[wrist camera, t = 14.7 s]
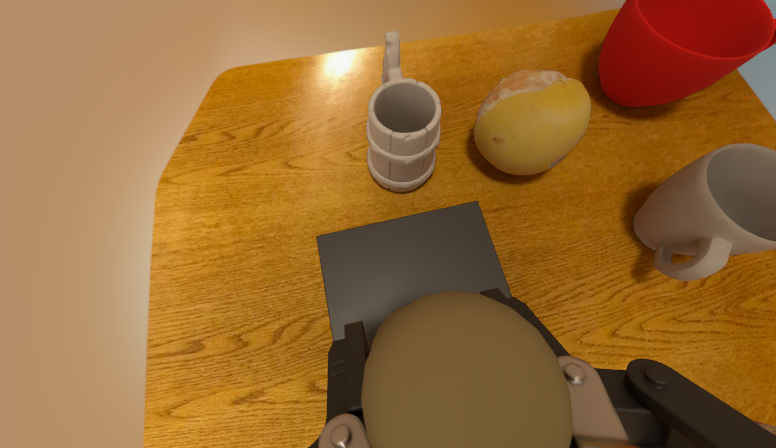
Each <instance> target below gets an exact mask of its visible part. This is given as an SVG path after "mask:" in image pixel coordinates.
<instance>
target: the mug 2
mask: <svg viewBox="0 0 776 448" xmlns="http://www.w3.org/2000/svg"><path fill="white" fill-rule="evenodd" d="M633 227H634V230H635V233H636V235H637V236H638V238H639V239H640V240H641V241H642V242H643V243H644V244H645V245H646V246H648V247H649V248H651V249H653V250H655V255H654V261H653V265H654V267H655V268H656V269H657V270H658V271H660V272H661V273H663V274H664V275H666V276H668V277H671V278H674V279H677V280H683V281H690V280H697V279H701V278H705V277H708V276H710V275H712V274H714V273H716V272H718V271H719V270H720V269H722V268H723V267H724V266H725V265H726V263H727V261H728V257H729V255H739V254H748V253H755V252H761V251H767V250H773V249H776V151H774V150H772V149H769V148H767V147H763V146H759V145H754V144H730V145H726V146H723V147H720V148H718V149H716V150H714V151H711V152H709V153H708V154H706V155H704V156H702V157H700V158H699V159H697V160H695V161H694V162H692V163H690V164H688V165H687V166H685V167H684V168H682V169H681V170H679V171H678V172H676V173H675V174H673V175H672V176H671V177H669V178H668V179H667V180H665V181H664V182H663V183H662V184H661V185H659V186H658V187H657V188H656V189H655V190H654V191H653V192H652V193H651V195H650V196H649V197H648V198H647V200H646V201H645V202H644V204H643V206H642V207H641V208H640V209H639V210H638V211H637V212H636V214H635V216H634V219H633ZM673 253H676V254H682V255H690V256H694V257H693V258H692V259H691V260H690V261H688V262H684V263H679V264H673V263H672V261H671V258H672V255H673Z"/></svg>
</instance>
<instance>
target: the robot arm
mask: <svg viewBox="0 0 776 448" xmlns="http://www.w3.org/2000/svg"><path fill="white" fill-rule="evenodd" d="M479 294H481V295H484V296H486V297H488V298H491V299H493V300H495V301H498V302H500V303H502V304H505V305H507V306H509V307H511V308H512V309H513V310H515V311H516V312H517V313H518V314H520V315H521V316H522V317H523V318H524V319H526V320H527V321H528V322H529V323H530V324H532V325H533V326H534V327H535V328H537V329H538V331H539V332H540V334H541V335H542V337H543V338H544V339H545V341H546V342H547V344H548V345H549V346H550V348H551V349H552V351H553V352H554V354H555V355H556V356H557V358H558V361H559V363H560V366H561V369H562V372H563V374H564V377H565V380H566V382H567V385H568V388H569V390H570V397H571V408H572V420H573V434H572V439H571V443H570V448H776V436H775V435H774V434H772V433H771V432H769V431H768V430H766V429H765V428H763V427H761V426H760V425H758V424H757V423H755V422H754V421H752V420H751V419H749V418H747V417H746V416H744V415H743V414H741V413H740V412H738V411H737V410H735V409H733V408H732V407H730V406H729V405H727V404H726V403H724V402H723V401H721V400H719V399H718V398H716V397H715V396H713V395H712V394H710V393H709V392H707V391H706V390H704V389H702V388H701V387H699V386H698V385H696V384H695V383H693V382H692V381H690V380H688V379H687V378H685V377H684V376H682V375H681V374H679V373H678V372H676V371H674V370H673V369H671V368H670V367H668V366H666V365H664V364H662V363H660V362H657V361H653V360H649V359H636V360H633V361H631V362H630V363H629V364H628V366H627V370H612V369H598V368H593V367H592V366H591V365H590V364H588V363H587V362H585V361H584V360H581V359H579V358H576V357H573V356H571V355H570V354H569V353H568V352H567V351H566V350H565V349H564V348H563V347H562V345H561V344H560V343H559V342H558V341H557V340H556V339H555V337H554V336H553V335H552V334H551V333H550V332H549V330H548V329H547V328H546V327H545V326H544V325H543V324H541V321H540V320H539V319H538V318H537V317H536V316H535V315H534V313H533V312H532V311H531V310H530V309H529V307H528V306H527V305H526V304H525V303H523V302H521V301H520V300H518V299H516V298H515V297H512V298H508V299H507V298H506V297H505V295H504V294H503V293H502V292H501V290H500V289H499V288H494V289H490V290H486V291H482V292H480V293H479ZM344 334H345V338H344V339H340V340H336V341H334V342H333V344H332V346H331V348H330V350H329V353H328V386H327V418H326V424H325V427H324V428H323V430H322V432H321V434H320V436H319V438H318V439H317V440H316V441H315V442H314V443H313V444H312V445H311V446H310V447H308V448H372V446H371V444H370V442H369V440H368V438H367V434H366V428H365V421H364V415H363V409H362V403H361V395H362V386H363V378H364V369H365V364H366V361H367V359H368V357H369V354H370V352H371V351H370V347H369V343H368V339H367V336H366V332H365V328H364V325H363V321H362V320H361V321H357V322H353V323H349V324H345V325H344Z"/></svg>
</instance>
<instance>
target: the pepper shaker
mask: <svg viewBox="0 0 776 448" xmlns="http://www.w3.org/2000/svg"><path fill="white" fill-rule="evenodd" d="M361 403H362V409H363V415H364V421H365V428H366V434H367V438H368V440H369V442H370V444H371V446H372V448H570V443H571V439H572V434H573V420H572V408H571V397H570V390H569V388H568V385H567V382H566V380H565V377H564V374H563V372H562V369H561V366H560V363H559V361H558V358H557V356H556V355H555V354H554V352H553V351H552V349H551V348H550V346H549V345H548V344H547V342H546V341H545V339H544V338H543V337H542V335H541V334H540V332H539V331H538V329H537V328H535V327H534V326H533V325H532V324H530V323H529V322H528V321H527V320H526V319H524V318H523V317H522V316H521V315H520V314H518V313H517V312H516V311H515V310H513V309H512V308H511V307H509V306H507V305H505V304H502V303H500V302H498V301H495V300H493V299H491V298H488V297H486V296H484V295H481V294H479V293H470V292H460V291H451V290H449V291H445V292H440V293H436V294H432V295H427V296H423V297H421V298H419V299H417V300H416V301H414V302H412V303H411V304H409V305H406V306H403V307H401V308H400V309H398V310H396V311H395V312H393V313H391V314H390V315H389V316H388V317H387V318H386V319H385V321H384V322H383V323H382V324H381V325H380V326H379V328H378V330H377V333H376V335H375V337H374V340H373V342H372V347H371V352H370V354H369V357H368V359H367V361H366V364H365V369H364V378H363V386H362V395H361Z"/></svg>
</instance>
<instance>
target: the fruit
mask: <svg viewBox="0 0 776 448" xmlns="http://www.w3.org/2000/svg"><path fill="white" fill-rule="evenodd" d="M590 115H591V101H590V96H589V94H588V92H587V90H586V89H585V87H584V86H583V84H582V83H581V82H580V81H578V80H576V79H573V78H566V77H565V76H564V75H563V74H561V73H559V72H556V71H549V70H535V71H532V70H522V71H518V72H515V73H512V74H510V75H509V76H507V77H506V78H503V79H501V81H500V82H499V83H498V85H497V86H496V87H495V88H494V89H493V90H492V91H491V92H490V93H489V96H488V97H486V98H485V99H484V100H483V102H482V104H481V106H480V109H479V111H478V116H477V122H476V124H475V127H474V139H475V143H476V145H477V148H478V150H479V151H480V153H481V154H482V156H483V157H484V158H485V159H486V160H487V161H488V162H490V163H491V164H492V165H493V166H494V167H496V168H497V169H499V170H501V171H503V172H505V173H508V174H514V175H531V174H536V173H540V172H543V171H545V170H548V169H550V168H552V167H554V166H555V165H557V164H558V163H559V162H561V161H562V160H563V159H564V158H565V157H566V156H567V155H568V154H569V153H570V152H571V151H572V150H573V149H574V147H575V146H576V145H577V144H578V142H579V141H580V140H581V139H582V137H583V136H584V134H585V132H586V130H587V127H588V124H589V121H590Z"/></svg>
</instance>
